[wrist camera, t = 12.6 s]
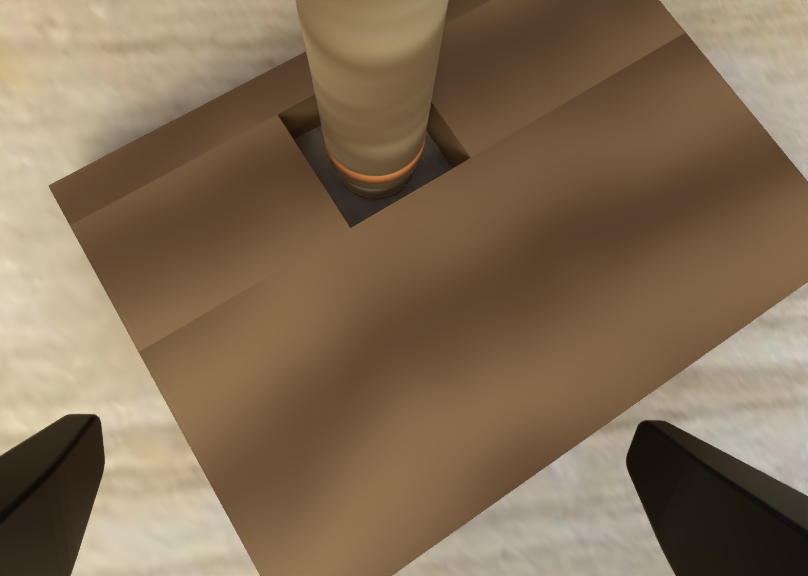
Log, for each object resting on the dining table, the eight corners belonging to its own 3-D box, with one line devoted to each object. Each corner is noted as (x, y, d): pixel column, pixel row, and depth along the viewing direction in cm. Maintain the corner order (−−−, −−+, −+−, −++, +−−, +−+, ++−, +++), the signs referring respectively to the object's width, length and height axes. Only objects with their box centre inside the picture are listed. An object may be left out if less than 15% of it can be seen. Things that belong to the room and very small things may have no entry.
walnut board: (813, 260, 20) (859, 245, 18) (306, 615, 17) (296, 642, 15) (565, -51, 23) (583, -93, 21) (81, 207, 20) (48, 185, 18)
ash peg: (439, 161, 21) (627, -605, 5) (377, 224, 20) (371, -428, 4) (373, 104, 21) (355, -773, 5) (310, 164, 20) (82, -634, 5)
